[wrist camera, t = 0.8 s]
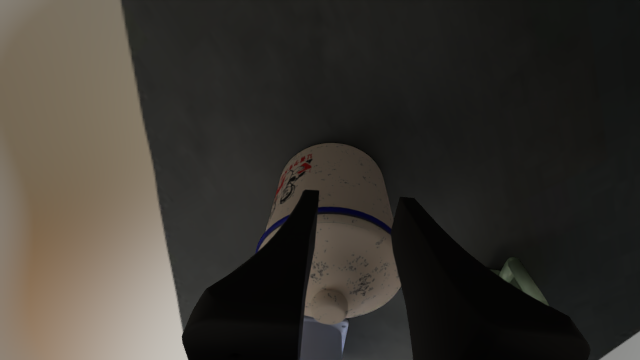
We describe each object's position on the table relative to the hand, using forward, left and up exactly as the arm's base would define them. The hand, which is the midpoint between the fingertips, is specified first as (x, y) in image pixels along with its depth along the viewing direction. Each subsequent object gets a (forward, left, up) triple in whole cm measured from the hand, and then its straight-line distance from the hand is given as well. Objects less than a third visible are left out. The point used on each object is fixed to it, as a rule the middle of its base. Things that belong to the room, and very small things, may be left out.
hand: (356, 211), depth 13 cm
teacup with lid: (-7, +1, -11) cm, 13 cm away
